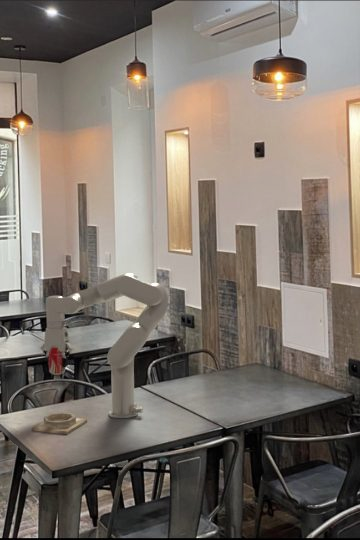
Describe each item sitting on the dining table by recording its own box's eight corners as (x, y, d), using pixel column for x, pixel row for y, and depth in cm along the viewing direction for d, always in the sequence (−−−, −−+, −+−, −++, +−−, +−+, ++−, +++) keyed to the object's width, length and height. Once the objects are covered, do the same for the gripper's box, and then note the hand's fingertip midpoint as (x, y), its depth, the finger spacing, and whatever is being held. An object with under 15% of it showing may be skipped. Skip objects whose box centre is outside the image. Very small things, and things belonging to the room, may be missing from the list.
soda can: (49, 371, 284) (49, 344, 283) (66, 371, 285) (66, 343, 284) (47, 375, 277) (47, 347, 276) (64, 375, 278) (64, 347, 277)
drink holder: (86, 422, 271) (86, 413, 271) (67, 434, 256) (66, 425, 256) (53, 418, 277) (53, 409, 276) (32, 430, 262) (31, 421, 261)
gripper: (78, 324, 280) (79, 365, 281) (43, 322, 286) (45, 363, 287) (69, 327, 273) (71, 369, 274) (33, 325, 279) (35, 367, 280)
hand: (57, 365), depth 281 cm, fingers closed on soda can, 6 cm apart
